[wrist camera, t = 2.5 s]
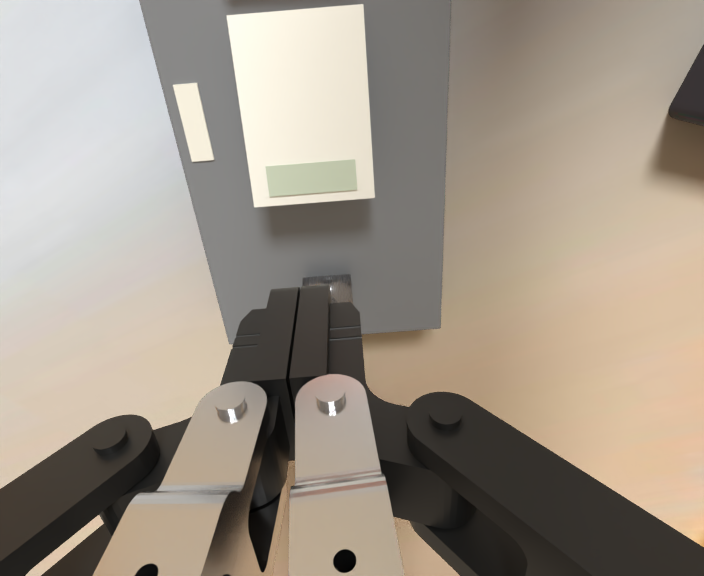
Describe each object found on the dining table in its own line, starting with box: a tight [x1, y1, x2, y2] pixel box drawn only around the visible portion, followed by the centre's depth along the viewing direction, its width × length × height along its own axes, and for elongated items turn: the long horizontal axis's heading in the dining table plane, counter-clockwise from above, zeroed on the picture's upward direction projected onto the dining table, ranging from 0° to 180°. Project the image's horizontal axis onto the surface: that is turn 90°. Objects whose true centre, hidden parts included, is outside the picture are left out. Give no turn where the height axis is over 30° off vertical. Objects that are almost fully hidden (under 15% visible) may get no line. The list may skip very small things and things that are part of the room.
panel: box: [139, 0, 451, 344], centre depth 21 cm, size 25×12×4 cm, turn 4°
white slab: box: [226, 4, 375, 207], centre depth 18 cm, size 7×5×1 cm
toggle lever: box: [302, 274, 353, 304], centre depth 22 cm, size 2×2×6 cm
